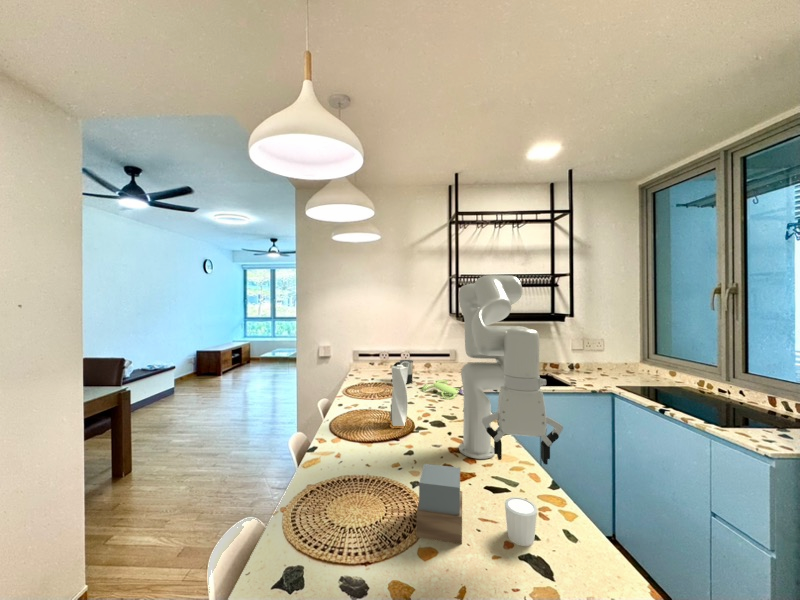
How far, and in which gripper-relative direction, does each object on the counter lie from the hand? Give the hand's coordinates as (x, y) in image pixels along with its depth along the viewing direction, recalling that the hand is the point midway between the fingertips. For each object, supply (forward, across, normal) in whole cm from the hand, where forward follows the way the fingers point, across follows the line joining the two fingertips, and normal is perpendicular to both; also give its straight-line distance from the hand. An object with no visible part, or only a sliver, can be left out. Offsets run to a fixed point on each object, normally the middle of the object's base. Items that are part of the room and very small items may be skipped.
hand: (521, 459), depth 72 cm
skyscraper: (+17, +40, -60) cm, 75 cm away
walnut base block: (+18, +18, 0) cm, 25 cm away
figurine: (+17, +25, -119) cm, 123 cm away
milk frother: (+16, +53, -135) cm, 146 cm away
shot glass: (+18, 0, 0) cm, 18 cm away
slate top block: (+12, +18, 0) cm, 22 cm away
